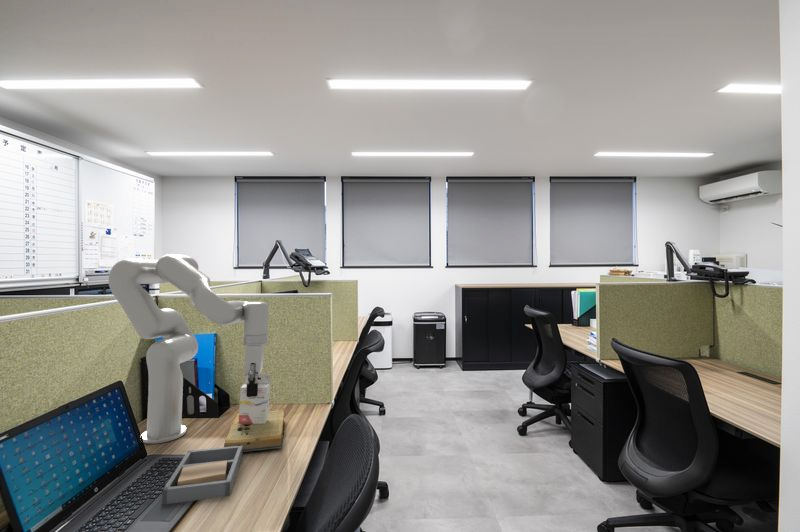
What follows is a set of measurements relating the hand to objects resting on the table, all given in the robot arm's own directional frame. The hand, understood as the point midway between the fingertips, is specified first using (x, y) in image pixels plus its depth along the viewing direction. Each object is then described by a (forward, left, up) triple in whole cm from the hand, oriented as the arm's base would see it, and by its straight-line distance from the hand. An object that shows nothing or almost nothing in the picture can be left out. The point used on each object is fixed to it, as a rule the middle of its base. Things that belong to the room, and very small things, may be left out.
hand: (253, 391), depth 117 cm
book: (+1, +2, -16) cm, 16 cm away
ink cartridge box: (0, 0, -10) cm, 10 cm away
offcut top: (+28, -8, -12) cm, 31 cm away
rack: (+24, -8, -15) cm, 29 cm away
